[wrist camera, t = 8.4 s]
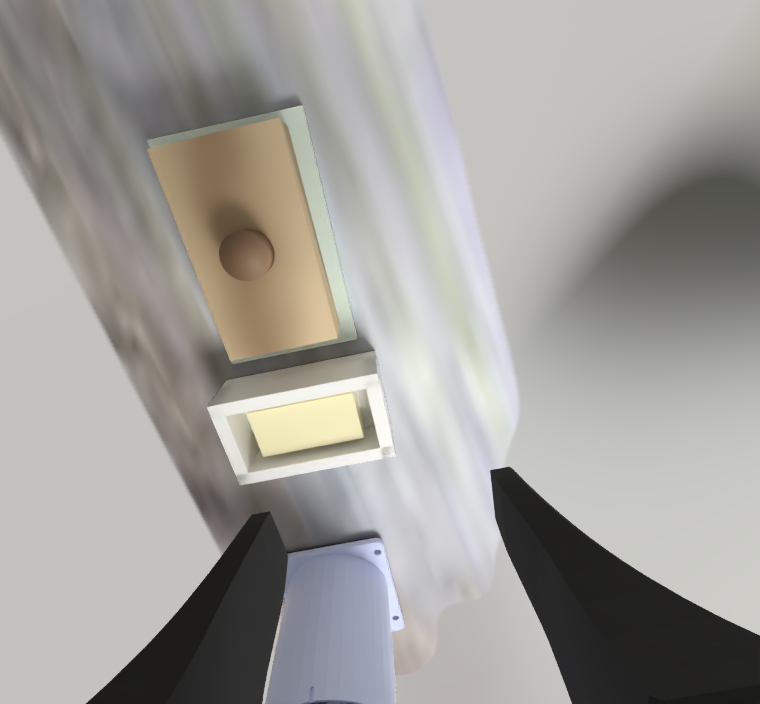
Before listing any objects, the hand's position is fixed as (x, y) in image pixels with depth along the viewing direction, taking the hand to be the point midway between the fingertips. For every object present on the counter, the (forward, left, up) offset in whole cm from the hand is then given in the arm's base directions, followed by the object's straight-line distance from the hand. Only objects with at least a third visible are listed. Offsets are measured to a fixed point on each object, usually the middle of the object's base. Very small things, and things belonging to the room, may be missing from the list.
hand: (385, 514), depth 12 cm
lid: (+8, +4, -10) cm, 13 cm away
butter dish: (-1, +4, -10) cm, 11 cm away
